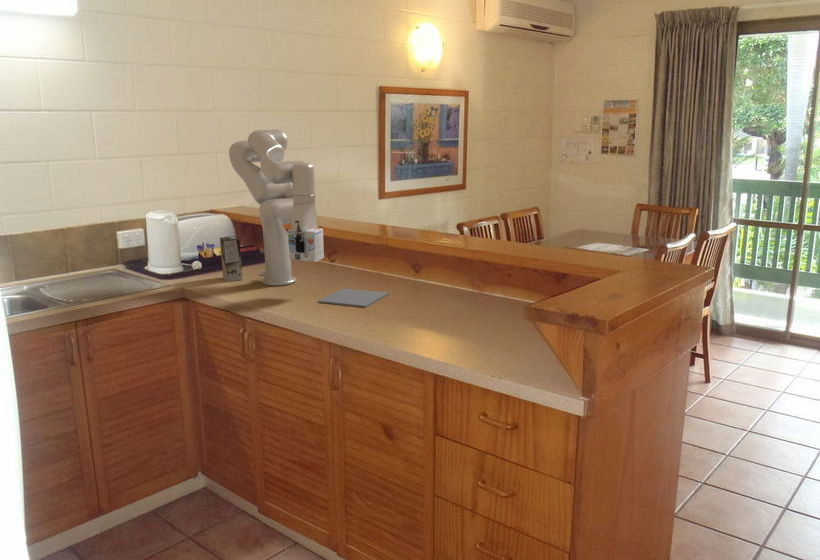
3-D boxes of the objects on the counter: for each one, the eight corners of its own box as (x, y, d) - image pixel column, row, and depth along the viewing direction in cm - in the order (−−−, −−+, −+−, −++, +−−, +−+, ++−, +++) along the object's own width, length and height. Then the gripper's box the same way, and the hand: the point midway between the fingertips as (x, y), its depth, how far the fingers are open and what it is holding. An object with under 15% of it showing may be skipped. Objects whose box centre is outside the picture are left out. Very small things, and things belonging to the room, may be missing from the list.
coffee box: (243, 280, 265) (240, 239, 261) (226, 281, 263) (223, 240, 259) (238, 275, 273) (235, 235, 270) (222, 277, 271) (219, 237, 267)
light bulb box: (288, 260, 239) (287, 229, 237) (297, 255, 245) (296, 226, 243) (316, 262, 236) (314, 231, 233) (324, 258, 242) (323, 228, 239)
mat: (318, 302, 232) (318, 300, 232) (343, 289, 248) (343, 288, 248) (365, 307, 225) (365, 305, 225) (388, 294, 241) (388, 292, 241)
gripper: (308, 195, 244) (310, 244, 249) (280, 202, 229) (283, 254, 234) (326, 196, 242) (328, 246, 246) (299, 203, 226) (302, 256, 231)
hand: (306, 249), depth 240 cm, fingers closed on light bulb box, 7 cm apart
